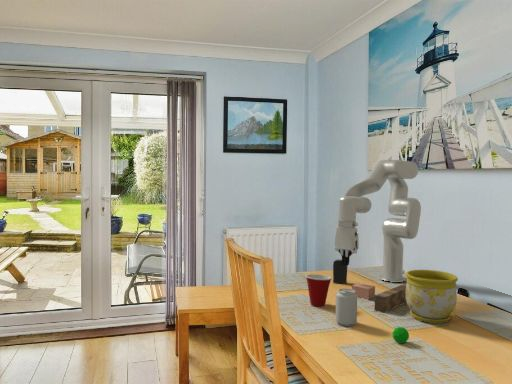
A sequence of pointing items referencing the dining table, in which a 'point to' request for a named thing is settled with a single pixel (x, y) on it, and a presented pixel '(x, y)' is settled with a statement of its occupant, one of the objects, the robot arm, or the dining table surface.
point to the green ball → (400, 335)
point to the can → (346, 307)
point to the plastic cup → (318, 288)
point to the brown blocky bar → (390, 298)
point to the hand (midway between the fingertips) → (345, 265)
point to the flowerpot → (431, 295)
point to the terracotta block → (364, 290)
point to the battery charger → (339, 272)
